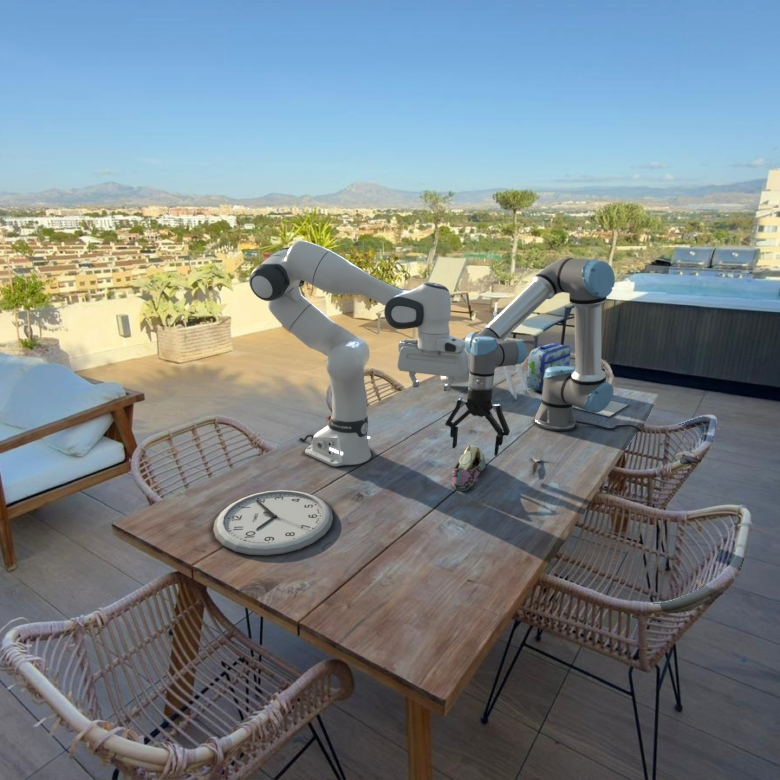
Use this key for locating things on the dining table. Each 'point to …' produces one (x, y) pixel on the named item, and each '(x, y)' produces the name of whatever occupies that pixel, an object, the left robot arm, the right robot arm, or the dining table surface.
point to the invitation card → (610, 408)
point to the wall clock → (273, 522)
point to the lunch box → (545, 363)
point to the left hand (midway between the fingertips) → (431, 388)
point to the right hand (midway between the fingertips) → (475, 450)
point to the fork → (536, 461)
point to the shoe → (468, 468)
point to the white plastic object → (505, 368)
